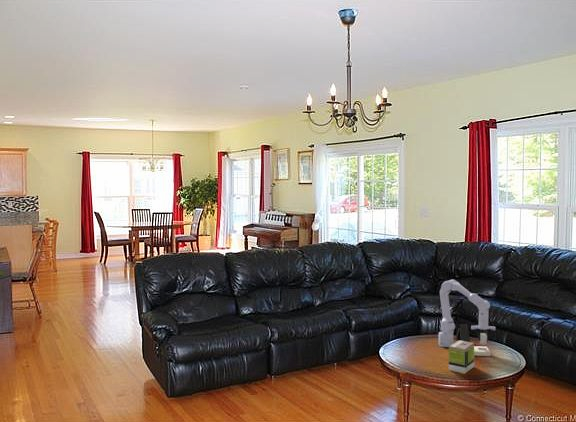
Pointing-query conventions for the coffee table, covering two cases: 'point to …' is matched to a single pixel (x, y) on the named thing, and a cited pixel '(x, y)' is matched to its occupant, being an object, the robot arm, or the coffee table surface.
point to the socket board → (481, 351)
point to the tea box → (461, 356)
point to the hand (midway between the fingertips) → (482, 340)
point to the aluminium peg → (483, 338)
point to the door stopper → (463, 333)
